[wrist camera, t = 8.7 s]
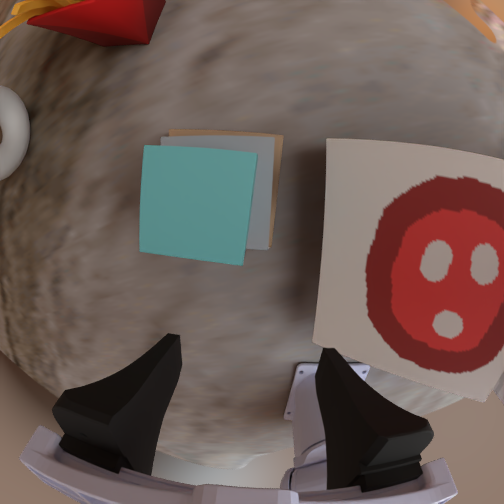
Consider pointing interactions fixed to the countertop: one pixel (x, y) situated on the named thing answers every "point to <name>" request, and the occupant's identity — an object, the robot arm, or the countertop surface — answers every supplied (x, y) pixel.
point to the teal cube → (196, 202)
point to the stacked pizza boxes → (415, 263)
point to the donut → (12, 131)
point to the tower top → (263, 179)
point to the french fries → (91, 19)
